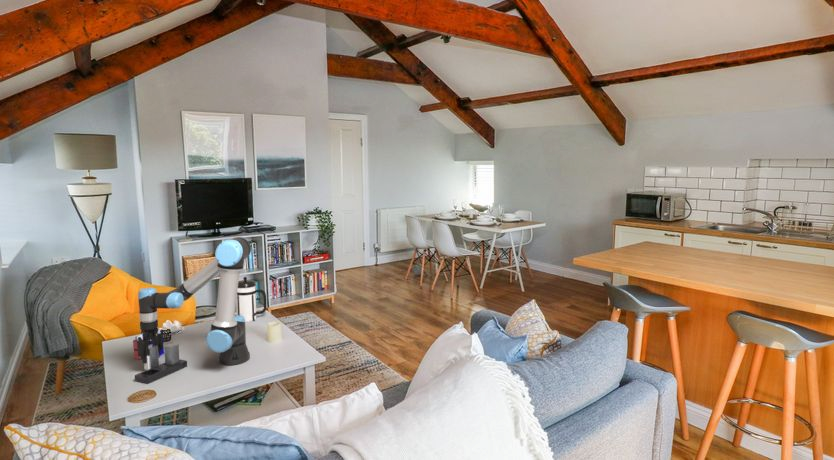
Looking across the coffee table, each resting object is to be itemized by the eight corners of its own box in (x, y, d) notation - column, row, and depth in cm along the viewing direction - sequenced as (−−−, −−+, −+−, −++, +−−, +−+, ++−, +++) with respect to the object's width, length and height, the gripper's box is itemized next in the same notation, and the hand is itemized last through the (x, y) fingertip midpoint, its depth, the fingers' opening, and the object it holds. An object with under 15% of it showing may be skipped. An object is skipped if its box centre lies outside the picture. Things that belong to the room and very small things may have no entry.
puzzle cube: (150, 360, 243) (149, 341, 242) (133, 359, 245) (132, 340, 244) (164, 353, 253) (163, 335, 252) (148, 352, 255) (147, 334, 254)
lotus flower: (155, 333, 286) (155, 319, 285) (183, 328, 295) (182, 315, 294) (159, 339, 275) (158, 325, 274) (188, 334, 284) (187, 320, 283)
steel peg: (159, 369, 231) (157, 345, 230) (151, 372, 227) (149, 348, 226) (152, 368, 233) (151, 344, 232) (144, 371, 229) (143, 347, 228)
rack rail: (187, 366, 235) (186, 360, 235) (147, 384, 215) (147, 377, 214) (175, 364, 238) (175, 358, 238) (134, 381, 218) (134, 375, 217)
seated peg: (179, 368, 233) (178, 344, 232) (172, 371, 229) (170, 347, 228) (173, 366, 235) (171, 343, 233) (165, 370, 231) (164, 346, 229)
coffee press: (245, 327, 297) (243, 280, 294) (229, 323, 306) (227, 277, 302) (267, 320, 311) (266, 275, 308) (252, 316, 320) (250, 273, 317)
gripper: (159, 314, 237) (161, 359, 239) (126, 324, 221) (129, 372, 223) (170, 316, 234) (172, 361, 237) (137, 326, 218) (140, 375, 221)
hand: (151, 367), depth 230 cm, fingers closed on steel peg, 4 cm apart
